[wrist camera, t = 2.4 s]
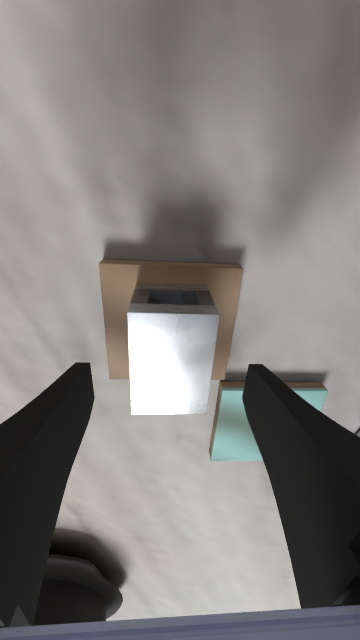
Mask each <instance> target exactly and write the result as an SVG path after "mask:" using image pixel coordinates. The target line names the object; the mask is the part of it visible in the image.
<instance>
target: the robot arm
mask: <svg viewBox="0 0 360 640" xmlns="http://www.w3.org/2000/svg"><path fill="white" fill-rule="evenodd" d="M242 400H243V404H244V409H245V413H246V416H247V420H248V422H249V425H250V428H251V430H252V433H253V435H254V438H255V440H256V443H257V446H258V448H259V451H260V453H261V456H262V458H263V461H264V464H265V466H266V469H267V472H268V475H269V478H270V481H271V485H272V488H273V492H274V496H275V499H276V503H277V506H278V510H279V514H280V518H281V522H282V525H283V529H284V533H285V538H286V542H287V546H288V550H289V554H290V558H291V563H292V567H293V572H294V577H295V581H296V586H297V591H298V595H299V600H300V605H301V609H289V610H273V611H258V612H242V613H226V614H211V615H195V616H179V617H164V618H148V619H133V620H117V621H101V622H86V623H70V624H54V625H39V626H33V623H34V619H35V614H36V609H37V604H38V600H39V595H40V590H41V586H42V581H43V576H44V572H45V567H46V563H47V559H48V555H49V550H50V546H51V542H52V537H53V533H54V529H55V526H56V522H57V518H58V514H59V510H60V506H61V502H62V498H63V495H64V491H65V487H66V483H67V480H68V477H69V474H70V471H71V468H72V465H73V463H74V460H75V457H76V455H77V452H78V449H79V447H80V444H81V441H82V438H83V436H84V433H85V430H86V428H87V425H88V422H89V419H90V415H91V411H92V407H93V402H94V390H93V383H92V375H91V367H90V363H75V364H74V365H72V366H71V367H70V368H69V369H68V370H67V371H66V372H65V373H63V374H62V375H61V376H60V377H59V378H58V379H57V380H56V381H55V382H54V383H52V384H51V385H50V386H49V387H48V388H47V389H46V390H44V391H43V392H42V393H41V394H40V395H39V396H37V397H36V398H35V399H34V400H32V401H31V402H30V403H29V404H27V405H26V406H25V407H24V408H22V409H21V410H20V411H18V412H17V413H16V414H14V415H13V416H12V417H10V418H9V419H7V420H6V421H4V422H3V423H2V424H0V640H360V437H359V436H357V435H355V434H354V433H352V432H350V431H349V430H347V429H346V428H344V427H342V426H341V425H339V424H338V423H336V422H335V421H333V420H332V419H330V418H329V417H327V416H326V415H324V414H323V413H322V412H320V411H319V410H317V409H316V408H315V407H313V406H312V405H311V404H309V403H308V402H307V401H306V400H304V399H303V398H302V397H300V396H299V395H298V394H297V393H296V392H294V391H293V390H292V389H291V388H289V387H288V386H287V385H286V384H285V383H284V382H282V381H281V380H280V379H279V378H278V377H277V376H276V375H274V374H273V373H272V372H271V371H270V370H269V369H267V368H266V367H265V366H264V365H262V364H249V367H248V372H247V376H246V381H245V386H244V390H243V395H242Z"/></svg>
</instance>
